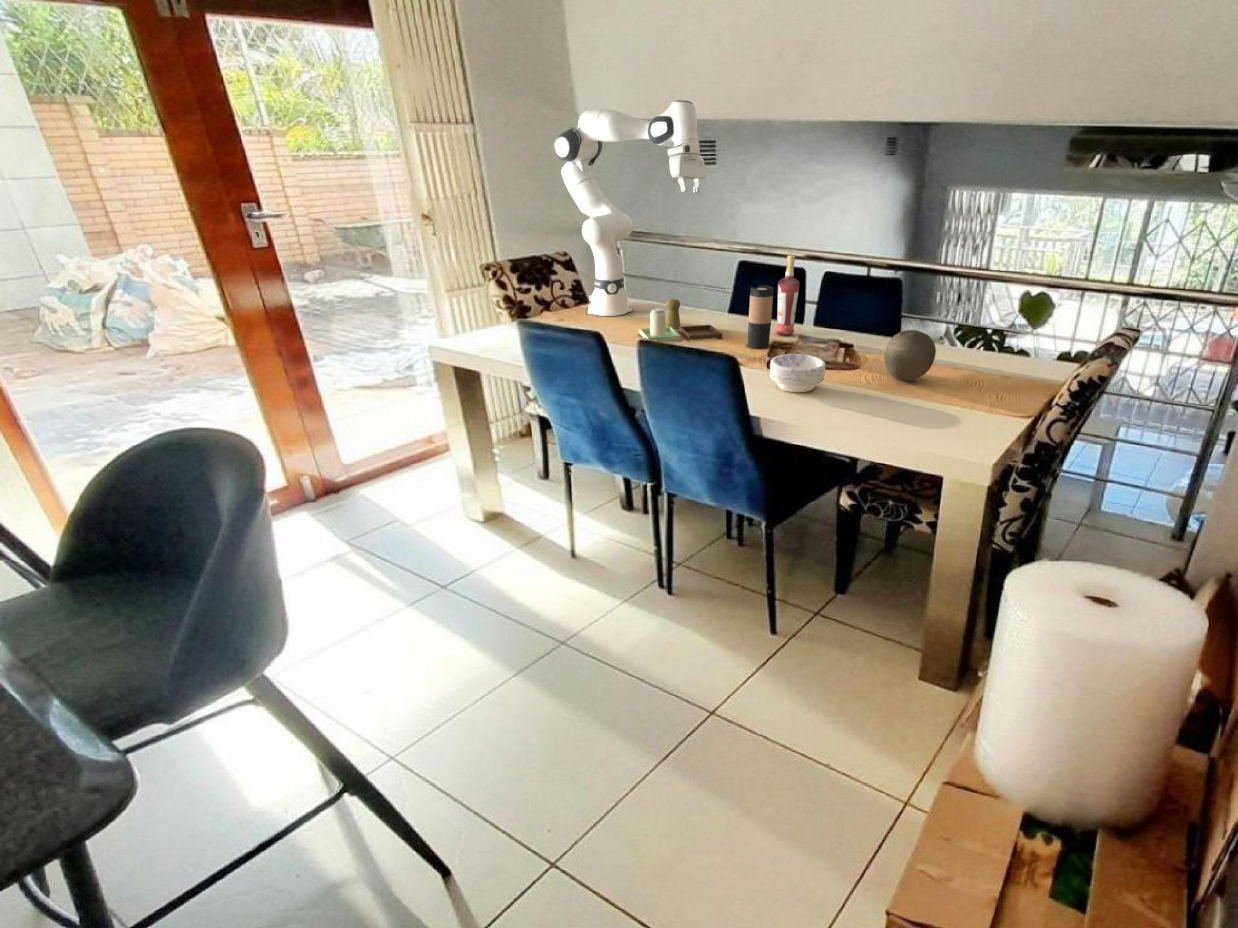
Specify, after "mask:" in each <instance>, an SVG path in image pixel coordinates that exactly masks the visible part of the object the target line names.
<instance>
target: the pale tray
mask: <svg viewBox="0 0 1238 928" xmlns="http://www.w3.org/2000/svg"><path fill="white" fill-rule="evenodd" d="M638 330H639V331H638V332H639V334H640V336H641V337H642V338H643V339H644V338H647V339H650V340H657V341H658V342H669V341H682V335H681V334H680V332H678V331H677V330H676V329H675V330H674V329H673V328H672V327H665V336H662V337H650V327H648V328H647V327H646V328H639V329H638Z"/></svg>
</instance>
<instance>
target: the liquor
mask: <svg viewBox="0 0 1238 928" xmlns="http://www.w3.org/2000/svg"><path fill="white" fill-rule="evenodd" d="M795 260H796V255H795V254H787V255H786V269H785V276H784V277H783V278H781V279H780V280H778V282H777V283H778V284H777V311H776V312H777V313H776V314H777V315H776V328H775V333H776V334H777V335H778V336H782V337H788V336H791V335H792V334H794V333H795V329H794V327H795V319H796V311H797V303H798V299H799V289H800V281H799V280H798V279H796V277H795V276H794V274H795V272H794V270H795V262H796V261H795Z"/></svg>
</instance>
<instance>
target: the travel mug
mask: <svg viewBox="0 0 1238 928" xmlns="http://www.w3.org/2000/svg"><path fill="white" fill-rule="evenodd" d="M749 292H750V293H749V307H748V324H747V347H749V348H751V349H754V350H755V349H756V350H761V349H762V350H763V349H767V348H769V345H770V339H771V338H770V337H771V327H772V318H773V317H772V316H773V302H774V301H773V300H774V299H773V298H774V287H773V286H770V285H758V286H757V287H754V286H750V291H749Z"/></svg>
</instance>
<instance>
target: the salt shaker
mask: <svg viewBox="0 0 1238 928" xmlns="http://www.w3.org/2000/svg"><path fill="white" fill-rule="evenodd" d="M666 317H667V312H666V311H665V309H664V308H662V307H661V308H660V307H656V308H651V311H649V328H650V337H662V336H665V324H666Z"/></svg>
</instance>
